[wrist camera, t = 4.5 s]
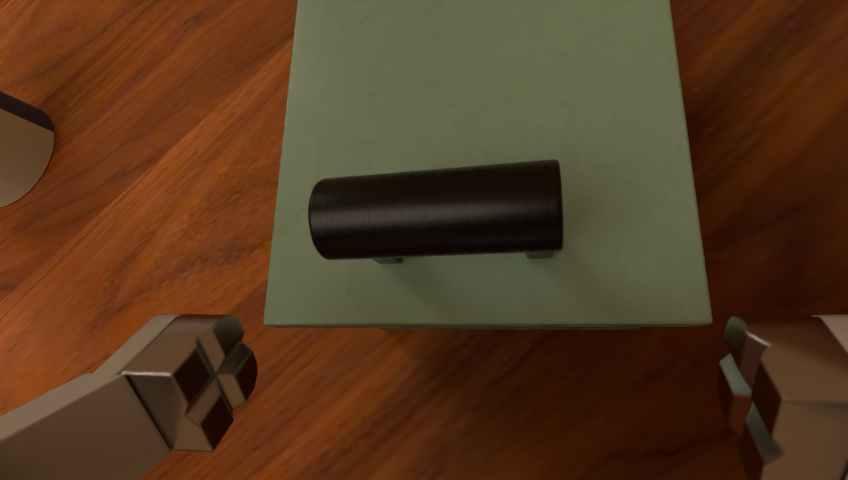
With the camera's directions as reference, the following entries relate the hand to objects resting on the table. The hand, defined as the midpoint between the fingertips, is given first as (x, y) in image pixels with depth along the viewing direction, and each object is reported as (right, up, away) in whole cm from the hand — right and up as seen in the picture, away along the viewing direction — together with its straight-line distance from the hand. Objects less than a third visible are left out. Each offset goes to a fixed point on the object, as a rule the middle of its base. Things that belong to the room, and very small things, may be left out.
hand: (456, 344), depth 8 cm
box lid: (+1, +7, +7) cm, 10 cm away
